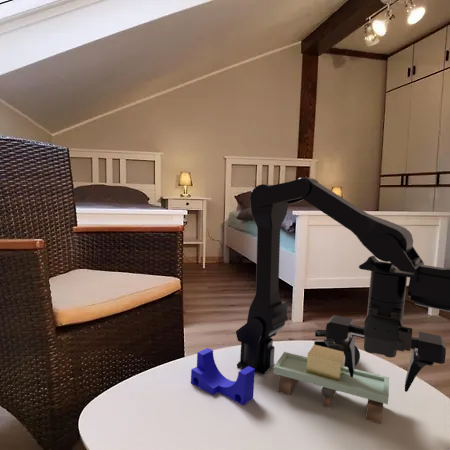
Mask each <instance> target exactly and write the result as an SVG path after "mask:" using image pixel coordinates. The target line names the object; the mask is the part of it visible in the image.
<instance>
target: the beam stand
mask: <svg viewBox="0 0 450 450" xmlns="http://www.w3.org/2000/svg"><path fill="white" fill-rule="evenodd" d="M299 381H300V380H296V379H292V378H289V377H285V376H281V375H278V388H277V392H278V393H281V394H283V395H286V396H291V395H292V393H293V392H294V390H295V388H296V387H297V385H298V383H299ZM320 392H321V395H322V397H323V398H322V399H323V400H322V407H325V408H328V409H330V407H331V406H332V403H333V400H334V398H335V395H336V393H337V391H335V390H333V389H329V388H326V387H322V388H321V391H320ZM383 409H384V403H381V402H377V401H373V400H370V399H367V402H366V412H365V413H366V415H365V420H366V421H369V422H370V421H371V422H373V423H376V424H380V425H381V424H382V423H381V422H382V419H383V418H382V417H383Z"/></svg>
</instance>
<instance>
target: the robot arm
mask: <svg viewBox="0 0 450 450" xmlns="http://www.w3.org/2000/svg"><path fill="white" fill-rule="evenodd" d="M301 201H304V202H307V203H308V204H310V205H311V206H312V207H314V208H316V209H317V210H319V211H320V212H322V213H323V214H325V215H326V216H328V217H329V218H331V219H332V220H334V221H335V222H337V223H338V224H340V225H341V226H343V227H344V228H346V229H348V230H349V231H350V232H351V233H353V235H355V236H356V238H357V239H358V240H359V242H360V243H361V244H362V246H364V248H366V249H367V250H368V251H369V252H370V253H371V254H372V255H371V256H369V257H368V258H367V259H366V260H365V261H364V262H363V263H361V264H359V265H358V268H359V270H363V271H369V272H370V279H369V281H370V282H369V289H368V291H369V292H368V302H367V311H366V312H367V313H366V318H365V319H364V324H363V325H364V326H361V325H356V324H354V319H353V318H351V317H347V316H340V315H336V314H333V315H332V316H331V317H330V318H329V320H328V322H327V323H326V325H325V326H326V327H325V330H326V334H325V337H324V338H326V337H327V338H328V339H333V341H334V343H335V344H338V345H339V346H340V347H341V348H342V350H343V352H344V355H345V358H346V361H347V365H348V369H349V373H350V376H351V377H353V376H354V369H356V368H355V367H356V366H355V346H356V344H355V337H356V338H362V339H363V350H364V351H365V352H367V353H369V354H377V355H381V356H384V357H386V358H391V359H392V358H395V357H396V356H397V352H398V351H399V352H403V353H405V352H406V351H407V352H411V349H412V352H411V355H410V359H409V363H408V368H407V372H406V376H405V381H404V392H405V393H407V392H408V391H409V389H410V387H411V386H412V384H413V383H414V381H415V379H416V376H417V375H418V373H419V372H420V371H422V369H423V368H425V367H426V366H430V367H433V366H434V363H435V364H440V365H443V364H445V363H446V354H447V353H446V350H447V347H446V344H445V340H444V339H443V337H442V336H441V335H437V334H432V333H427V332H422V331H418V332H417V337H414V336H413V328H412V327H407V326H404V325H403V321H404V311H405V302H406V294H408V295H407V296H408V298H410V301H413V302H414V305H417V306H419V307H426V308H431V309H435V310H440V311H444V312H448V313H450V267H439V266H431V265H427V264H425V263H424V260H422V258H421V257H420V255H419V253H418V252H417V250H416V249H415V247H414V246H413V245H414V239H413V238H414V237H413V235H412V233H411V232H410V231H409V230H408V229H407V228H406V227H404V226H402V225H399V224H397V223H395V222H393V221H389V220H387V219H383V218H380V217H378V216H375V215H372V214H369V213H367V212H366V211H364V210H363V209H362V208H359V207H358V206H356V205H354V204H353V203H351V202H349V201H348V200H347V199H345V198H343V197H342V196H341V195H339V194H337V193H335V192H334V191H332V190H331V189H329V188H327V187H326V186H324V185H323V184H321V183H320V182H318V180H317V179H315V178H311V177H299V178H297V179H295V180H294V179H293V180H291V181H286V182H281V183H277V184H259V185H256V186H255V187H254V188H253V189H252V190H251V191H250V196H249V204H250V212H251V216H252V219H253V221H254V223H255V225H256V228H257V229H256V230H257V233H256V237H257V238H256V270H255V271H256V272H255V275H256V276H255V295H254V297H253V299H252V302H251V304H250V306H249V309H248V314H247V319H246V323H244V325H242V326H241V327H239V328H238V329H237V330H236V331H235V334H236V339H237V341H238V342H240V357H239V361H238V362H237V364H236V367H237V368H240V369H244V368H246V367H248V366H249V367H252V368H254V369H255V374H260V375H265V374H266V373H267V372H268V371H269V369H271V368H272V366H273V365H275V364H274V363H275V348H276V347H275V345H274V346H273V344H274V343H273V342H274V341H273V340H274V339H273V337H276V335H277V334H278V332H279V331H280V330H281V329H283V328H284V326H285V324H286V322H287V321H288V320H289V318H288V307H289V305H288V303H289V302H288V301H282V299H281V296H280V293H279V283H280V282H279V280H280V279H279V277H280V248H281V244H280V243H281V228H282V224H283V222H284V220H285V219H286V217H287V215H288V214H287V213H288V208H289V205H291V204H295V203H296V204H297V203H298V202H301ZM379 260H380V261H379ZM408 278H409V282H408V289H407V281H408ZM406 291H407V293H406Z"/></svg>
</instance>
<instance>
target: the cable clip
mask: <svg viewBox="0 0 450 450" xmlns="http://www.w3.org/2000/svg"><path fill="white" fill-rule="evenodd" d="M196 354H197V355H196V366H195V367H193V368H192V369H191V370H190V371H191V373H190V384H192V385H194V386H196V388H197V387H198V388H199V389H200V390H202V391H205V393H208V394H209V395H211V396H215V395H217V394H218V393H219V394H221V395H223V396H224V397H227V398H228V399H230V400H232V401H234V402H235V403H238V404H239V405H242V406H245V405H246V404H248V403H249V402H251V401H252V400H253V399H254V393H255V392H254V390H255V377H256V376H255V374H256V372H255V369H254V368H252V367H249V366H248V367H246V368H244V369H243V368H241V369H240V370H239V371H238V373H237V378H236V379H235V380H234V381H233V380H231V379H229V378H226V377H225V376H224V375H223V374H222V372H221V371H220V370H219V369H218V367H217V364H216V362H215V358H214V349H211V348H210V347H207V348H204V349H202V350H199V351H198V352H197V353H196Z"/></svg>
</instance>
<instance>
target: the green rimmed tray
mask: <svg viewBox="0 0 450 450" xmlns="http://www.w3.org/2000/svg"><path fill="white" fill-rule="evenodd" d="M306 369H307V357H306V356H303V355H299V354H294V353H291V352H287V351H283V353H282V354H281V356H280V357H279V358H278V360H277V362H276V363H275V364H274V366H273V374H275V375H277V376H279V375H281V376H285V377H289V378H292V379H296V380H299V381H301V382H303V383H308V384H312V385H314V386H318V387H322V388H323V387H326V388H329V389H333V390H335V391H336V392H341V393H345V394H348V395H352V396H356V397H360V398H362V399H366V400H368V399H370V400H373V401H377V402H381V403H383V404H386V405H388V404H389V399H390V398H389V395H390V394H389V393H390V392H389V391H390V376H385V375H381V374H376V373H373V372H369V371H365V370H361V369H357V368H354V376H353V377H351V376H350V373H349V369H348V367H345V366H344V373H343V375H342V378H341V380H340V382H339V381H335V380H331V379H327V378H324V377H320V376H316V375H312V374H308V373H306Z"/></svg>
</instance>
